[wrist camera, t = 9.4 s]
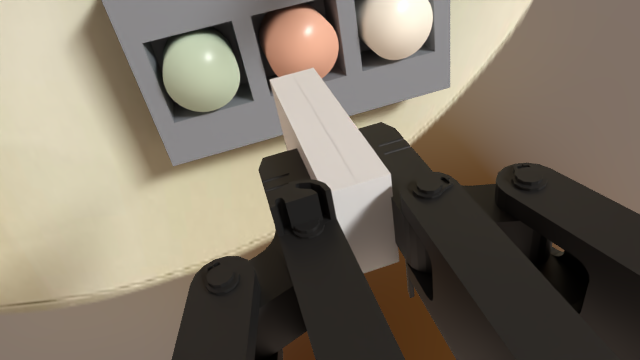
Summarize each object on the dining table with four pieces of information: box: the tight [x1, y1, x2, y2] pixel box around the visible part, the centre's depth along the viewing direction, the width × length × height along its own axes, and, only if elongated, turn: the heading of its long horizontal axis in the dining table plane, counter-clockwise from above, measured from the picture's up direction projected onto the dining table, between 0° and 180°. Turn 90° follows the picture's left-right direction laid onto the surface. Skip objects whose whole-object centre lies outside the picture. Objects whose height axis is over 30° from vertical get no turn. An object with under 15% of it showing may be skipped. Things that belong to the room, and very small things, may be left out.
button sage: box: [163, 27, 240, 112], centre depth 39 cm, size 6×6×4 cm
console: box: [102, 0, 450, 166], centre depth 41 cm, size 15×27×5 cm, turn 100°
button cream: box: [354, 0, 433, 60], centre depth 41 cm, size 6×6×4 cm
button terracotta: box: [259, 3, 339, 78], centre depth 40 cm, size 6×6×4 cm
